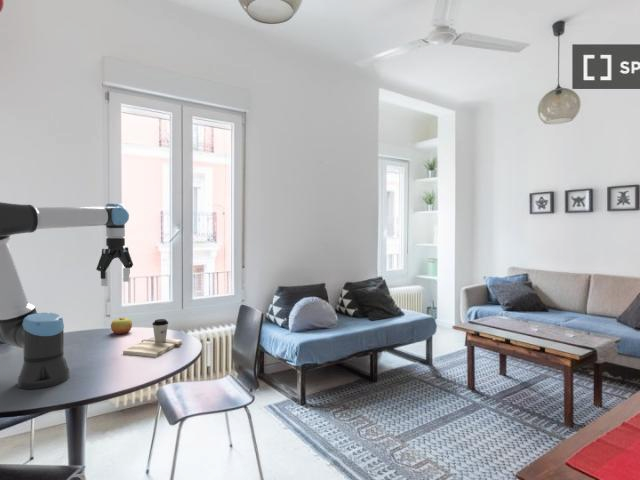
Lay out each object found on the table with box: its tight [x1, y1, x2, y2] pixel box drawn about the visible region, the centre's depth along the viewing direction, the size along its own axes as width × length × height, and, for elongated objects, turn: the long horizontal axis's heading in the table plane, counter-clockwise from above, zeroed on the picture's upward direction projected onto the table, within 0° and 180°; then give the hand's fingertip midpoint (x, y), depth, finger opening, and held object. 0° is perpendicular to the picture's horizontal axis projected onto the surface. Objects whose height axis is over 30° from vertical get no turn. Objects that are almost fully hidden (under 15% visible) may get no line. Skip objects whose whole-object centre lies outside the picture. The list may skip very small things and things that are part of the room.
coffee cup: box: [152, 318, 169, 343], centre depth 179 cm, size 7×7×10 cm
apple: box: [110, 317, 133, 335], centre depth 197 cm, size 10×10×8 cm
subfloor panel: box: [122, 336, 183, 358], centre depth 174 cm, size 20×19×2 cm
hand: (115, 283), depth 176 cm, fingers open, 13 cm apart
